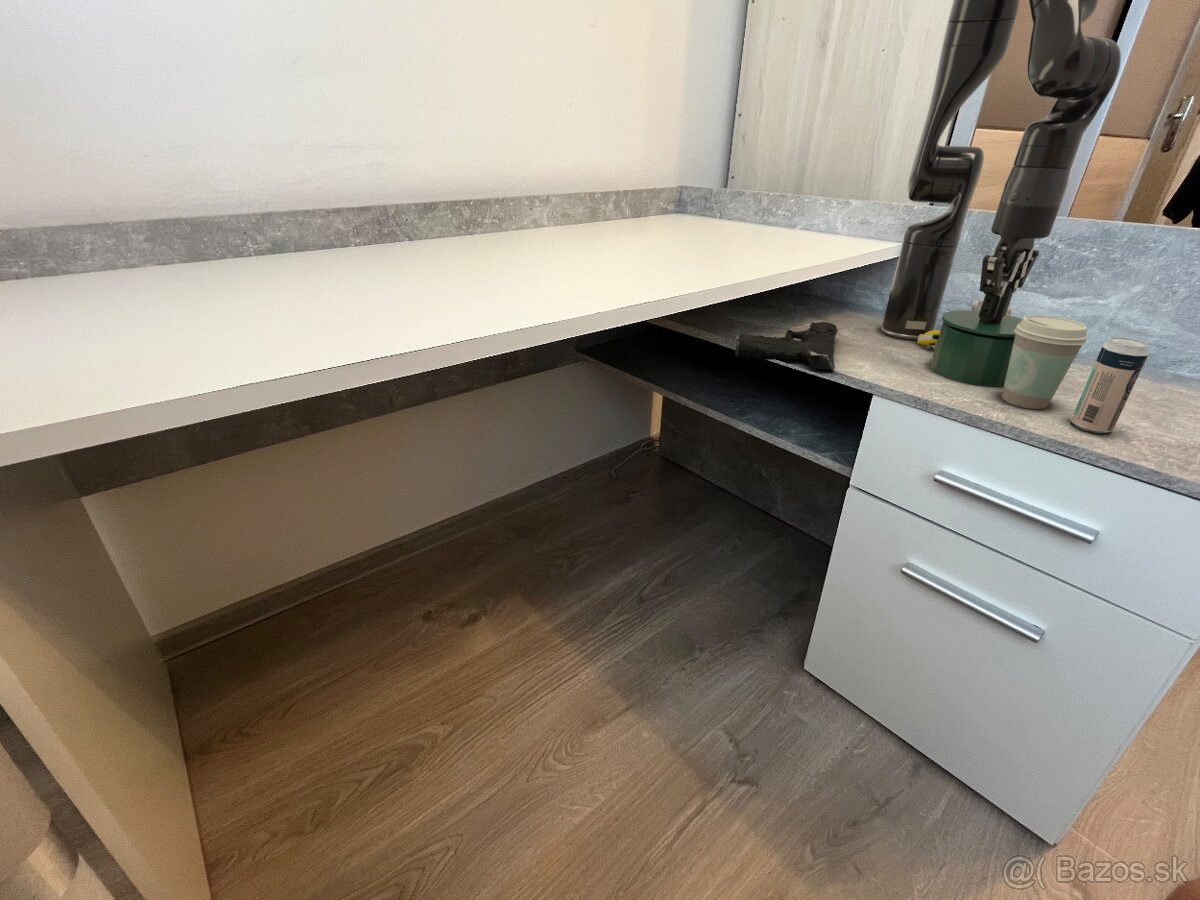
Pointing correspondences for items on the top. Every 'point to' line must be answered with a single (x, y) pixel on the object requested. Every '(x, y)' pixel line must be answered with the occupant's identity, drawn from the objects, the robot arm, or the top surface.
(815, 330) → the handgun
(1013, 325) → the lid
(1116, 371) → the beer can
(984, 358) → the pot
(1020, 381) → the coffee cup
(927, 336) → the yellow curved piece
